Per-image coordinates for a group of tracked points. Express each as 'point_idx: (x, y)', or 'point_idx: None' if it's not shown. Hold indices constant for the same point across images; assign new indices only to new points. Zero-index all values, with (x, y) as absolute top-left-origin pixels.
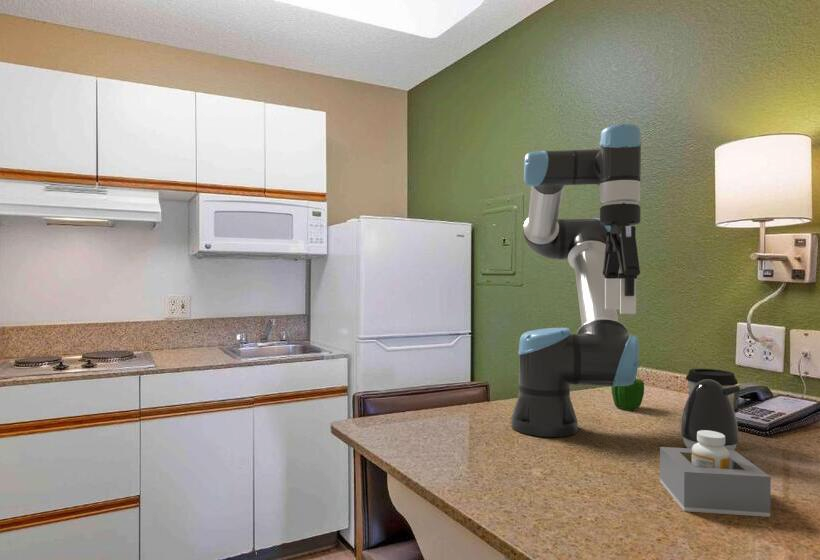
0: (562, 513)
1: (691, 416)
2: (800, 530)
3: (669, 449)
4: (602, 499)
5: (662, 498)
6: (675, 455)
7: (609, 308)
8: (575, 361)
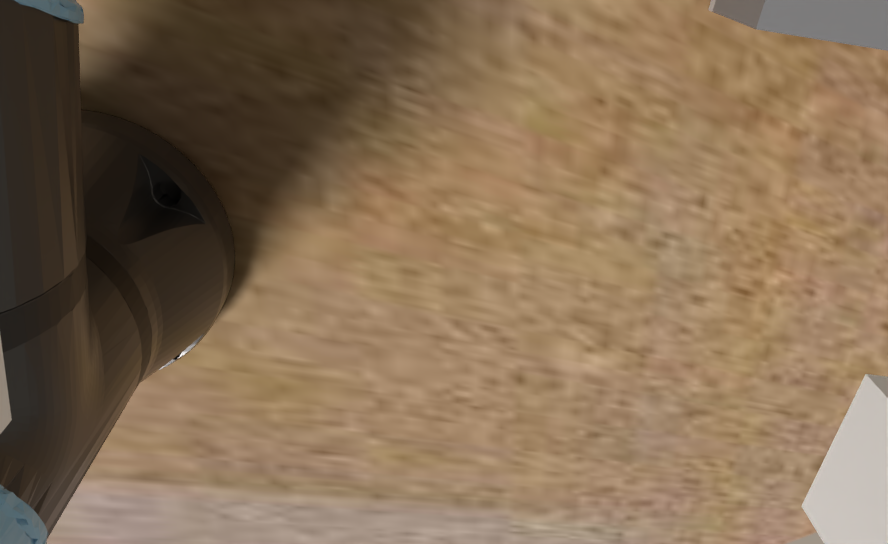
0: (861, 360)
1: None
2: None
3: (794, 4)
4: (806, 245)
5: (838, 69)
6: (863, 15)
7: (2, 386)
8: (67, 306)
